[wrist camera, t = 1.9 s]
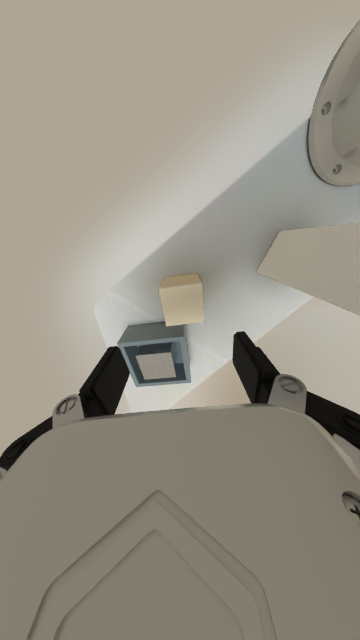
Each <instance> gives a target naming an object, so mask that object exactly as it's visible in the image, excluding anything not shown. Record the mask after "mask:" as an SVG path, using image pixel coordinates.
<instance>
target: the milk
mask: <svg viewBox="0 0 360 640" xmlns="http://www.w3.org/2000/svg"><path fill="white" fill-rule="evenodd" d="M256 272H257V273H259V274H262V275H264V276H266V277H269V278H271V279H274V280H276V281H278V282H281V283H283V284H286V285H288V286H290V287H293V288H295V289H298V290H300V291H302V292H305V293H307V294H310V295H312V296H314V297H317V298H319V299H322V300H324V301H326V302H329V303H331V304H334V305H336V306H338V307H341V308H343V309H346V310H348V311H350V312H353V313H355V314H358V315H360V223H350V224H341V225H331V226H322V227H312V228H303V229H293V230H284V231H280V232H279V233H278V235H277V237H276V238H275V240H274V242H273V244H272V245H271V247H270V249H269V251H268V252H267V254H266V256H265V257H264V259H263V261H262V263H261V264H260V266H259V268H258V270H257V271H256Z"/></svg>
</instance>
